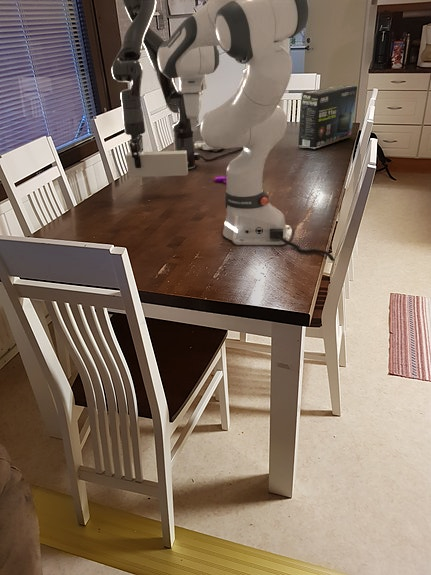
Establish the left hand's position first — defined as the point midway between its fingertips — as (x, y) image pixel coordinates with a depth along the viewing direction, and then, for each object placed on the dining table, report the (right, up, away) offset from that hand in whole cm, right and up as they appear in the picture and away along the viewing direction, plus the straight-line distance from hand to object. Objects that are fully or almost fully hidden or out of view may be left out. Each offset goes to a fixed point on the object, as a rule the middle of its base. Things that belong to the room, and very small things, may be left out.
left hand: (139, 165), depth 178 cm
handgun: (+35, -5, +12) cm, 37 cm away
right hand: (+23, +7, -22) cm, 32 cm away
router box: (+88, +30, +67) cm, 114 cm away
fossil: (+27, +27, +66) cm, 76 cm away
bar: (+7, -3, +2) cm, 8 cm away
